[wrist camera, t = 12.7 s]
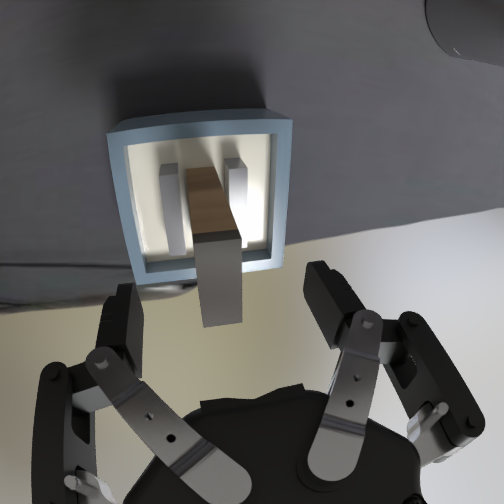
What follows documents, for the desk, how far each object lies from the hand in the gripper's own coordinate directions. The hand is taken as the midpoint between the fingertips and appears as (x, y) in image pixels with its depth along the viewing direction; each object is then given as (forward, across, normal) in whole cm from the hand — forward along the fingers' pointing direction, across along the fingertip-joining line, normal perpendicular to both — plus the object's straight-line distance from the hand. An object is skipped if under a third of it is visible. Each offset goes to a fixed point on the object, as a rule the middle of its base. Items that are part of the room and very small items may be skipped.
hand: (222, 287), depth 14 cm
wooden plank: (+10, 0, 0) cm, 10 cm away
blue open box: (+15, 0, 0) cm, 15 cm away
